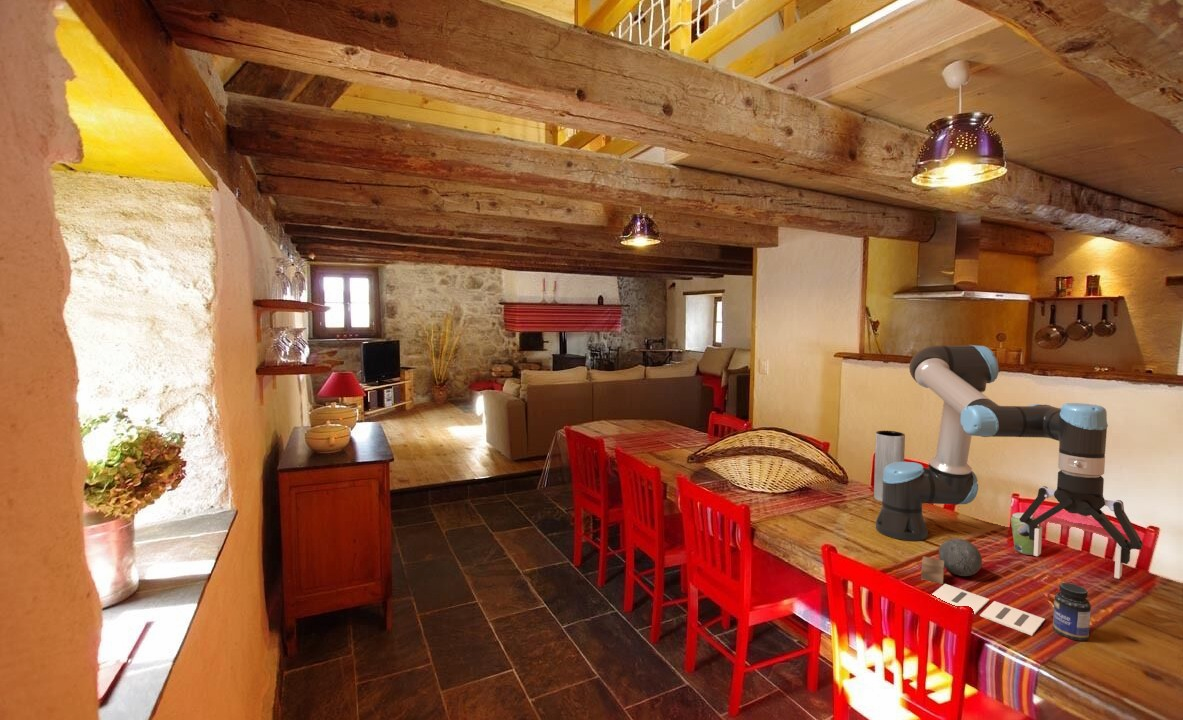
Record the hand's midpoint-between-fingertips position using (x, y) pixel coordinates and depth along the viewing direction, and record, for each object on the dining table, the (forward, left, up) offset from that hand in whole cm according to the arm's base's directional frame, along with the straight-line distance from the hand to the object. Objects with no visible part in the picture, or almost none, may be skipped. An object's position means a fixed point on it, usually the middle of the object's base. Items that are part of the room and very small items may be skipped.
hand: (1075, 565), depth 117 cm
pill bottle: (0, 0, -17) cm, 17 cm away
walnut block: (-30, +3, -17) cm, 34 cm away
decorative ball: (-26, +12, -17) cm, 33 cm away
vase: (-66, +59, -17) cm, 90 cm away
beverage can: (-19, +43, -17) cm, 50 cm away
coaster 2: (-10, -3, -17) cm, 20 cm away
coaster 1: (-21, -3, -17) cm, 27 cm away
